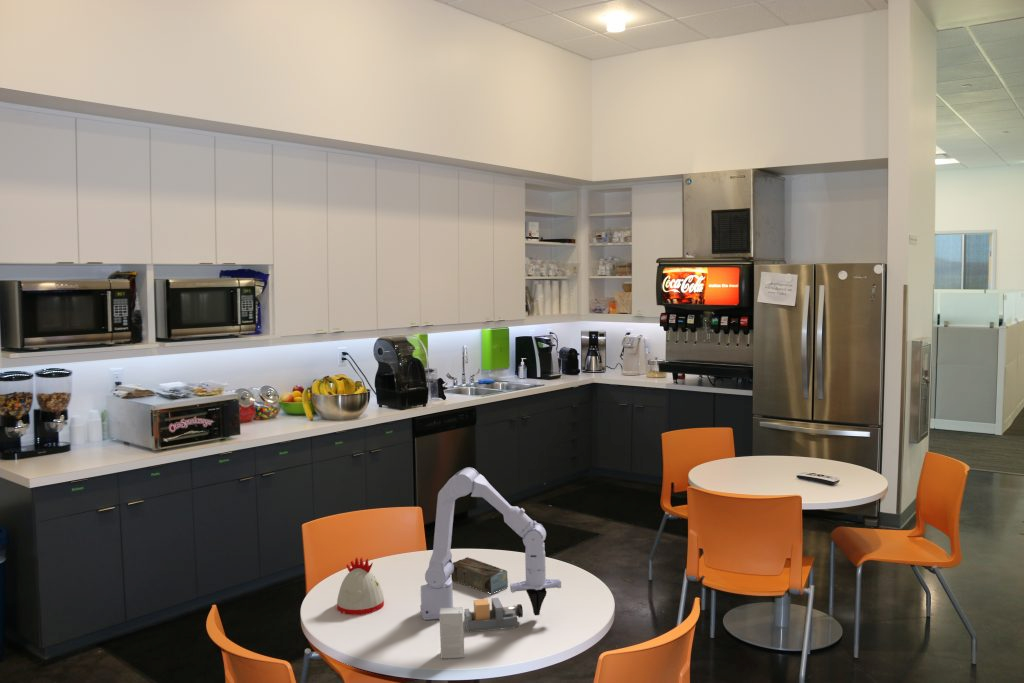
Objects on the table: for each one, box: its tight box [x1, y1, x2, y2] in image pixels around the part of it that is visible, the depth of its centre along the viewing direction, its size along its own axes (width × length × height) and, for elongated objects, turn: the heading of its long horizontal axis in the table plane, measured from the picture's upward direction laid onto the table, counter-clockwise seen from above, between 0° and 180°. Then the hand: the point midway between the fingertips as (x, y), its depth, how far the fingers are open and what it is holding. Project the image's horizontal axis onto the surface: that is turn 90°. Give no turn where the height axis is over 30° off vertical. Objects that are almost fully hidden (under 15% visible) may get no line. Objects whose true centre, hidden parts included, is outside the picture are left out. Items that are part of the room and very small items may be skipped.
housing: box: [463, 597, 519, 633], centre depth 239 cm, size 14×8×6 cm, turn 101°
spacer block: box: [473, 598, 491, 621], centre depth 239 cm, size 4×4×6 cm
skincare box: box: [439, 606, 465, 659], centre depth 220 cm, size 6×4×12 cm
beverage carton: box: [450, 556, 509, 595], centre depth 271 cm, size 8×19×7 cm, turn 46°
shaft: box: [503, 603, 524, 618], centre depth 240 cm, size 7×4×4 cm, turn 101°
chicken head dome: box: [336, 557, 385, 616], centre depth 254 cm, size 14×14×15 cm
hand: (536, 613), depth 242 cm, fingers closed
